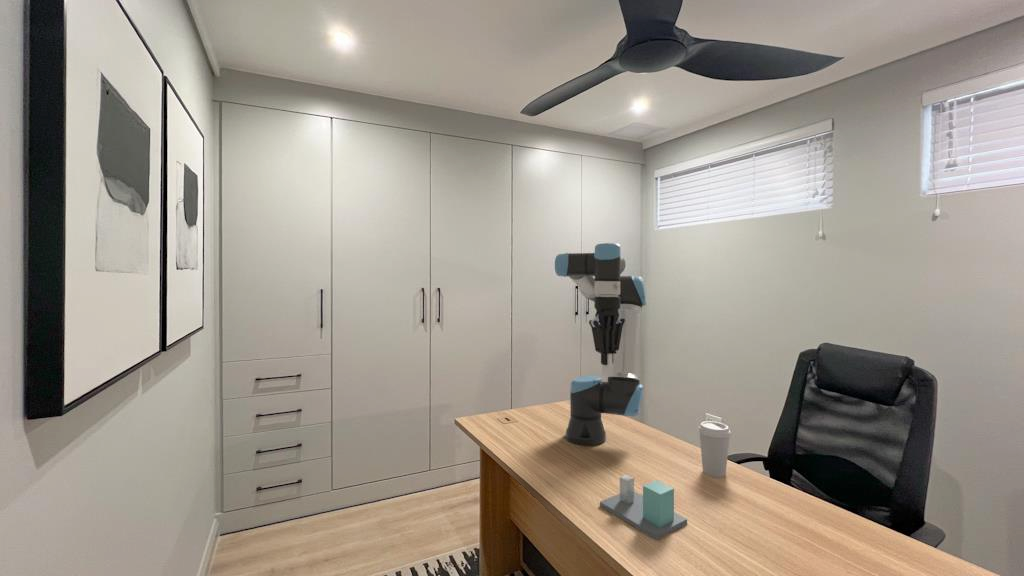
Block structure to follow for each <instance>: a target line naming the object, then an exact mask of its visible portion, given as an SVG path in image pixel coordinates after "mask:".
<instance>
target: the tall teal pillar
mask: <svg viewBox="0 0 1024 576" xmlns="http://www.w3.org/2000/svg"><path fill="white" fill-rule="evenodd" d="M642 496H643V518H645V519H647V520H648V521H650V522H652V523H654V524H655V525H657V526H659V527H662V526H664V525H666V524H668V523H670V522H672V521H674V512H675V488H674V487H673V486H669V485H667V484H665V483H663V482H662V481H659V480H652V481H651V482H648V483H646V484H644V485H642Z"/></svg>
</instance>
